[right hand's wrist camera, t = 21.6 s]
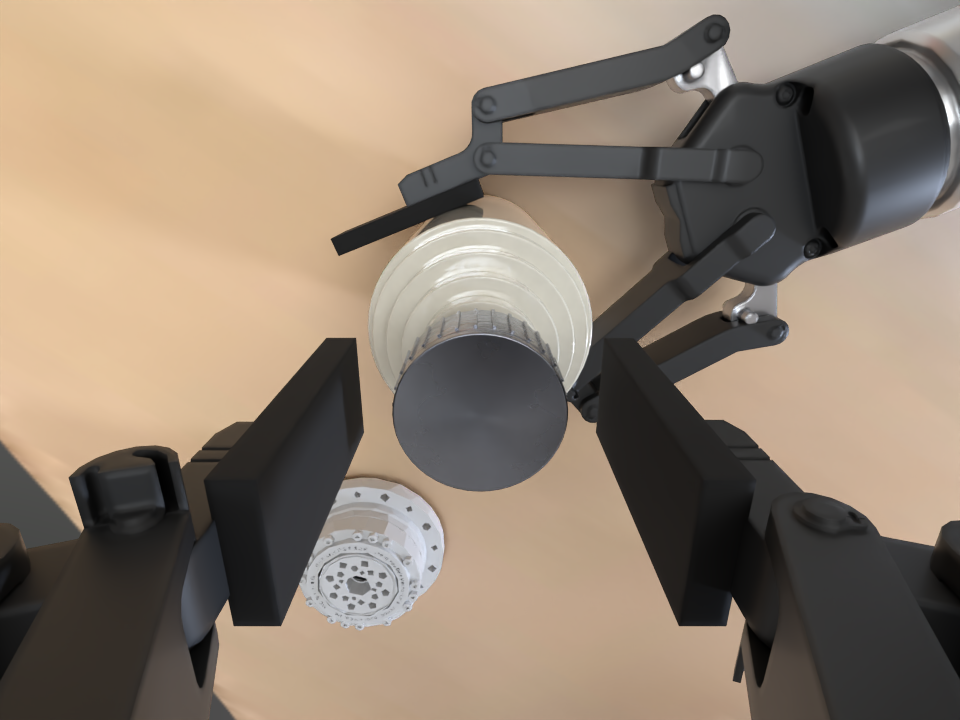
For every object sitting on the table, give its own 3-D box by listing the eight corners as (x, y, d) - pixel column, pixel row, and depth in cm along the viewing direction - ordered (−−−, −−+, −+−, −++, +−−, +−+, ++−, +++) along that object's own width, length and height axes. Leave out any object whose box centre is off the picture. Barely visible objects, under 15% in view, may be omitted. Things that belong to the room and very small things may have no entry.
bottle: (446, 168, 29) (395, 180, 11) (573, 234, 30) (704, 335, 12) (390, 296, 31) (276, 468, 14) (509, 352, 32) (543, 575, 15)
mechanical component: (463, 498, 35) (315, 456, 34) (461, 542, 31) (292, 497, 30) (421, 609, 39) (285, 574, 38) (414, 662, 35) (260, 625, 34)
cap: (573, 320, 14) (588, 345, 12) (541, 461, 15) (550, 504, 13) (410, 295, 14) (399, 317, 12) (394, 441, 15) (381, 482, 13)
